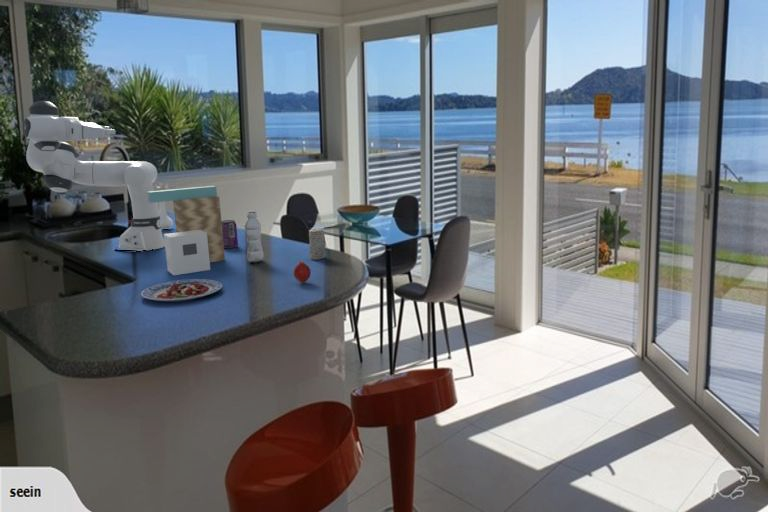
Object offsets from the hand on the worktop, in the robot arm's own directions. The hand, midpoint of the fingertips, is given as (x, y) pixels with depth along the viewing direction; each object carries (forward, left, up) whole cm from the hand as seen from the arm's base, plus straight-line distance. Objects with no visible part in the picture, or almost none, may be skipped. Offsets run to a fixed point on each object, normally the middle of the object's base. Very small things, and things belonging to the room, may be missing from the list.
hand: (112, 130), depth 254 cm
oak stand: (+26, +11, -54) cm, 61 cm away
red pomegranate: (+79, -24, -54) cm, 99 cm away
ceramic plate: (+42, -39, -54) cm, 79 cm away
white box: (+28, -6, -54) cm, 61 cm away
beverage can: (+27, +39, -54) cm, 72 cm away
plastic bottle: (+50, +9, -54) cm, 74 cm away
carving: (+74, +15, -54) cm, 93 cm away
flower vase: (-30, +87, -54) cm, 107 cm away
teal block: (+22, +8, -28) cm, 36 cm away
